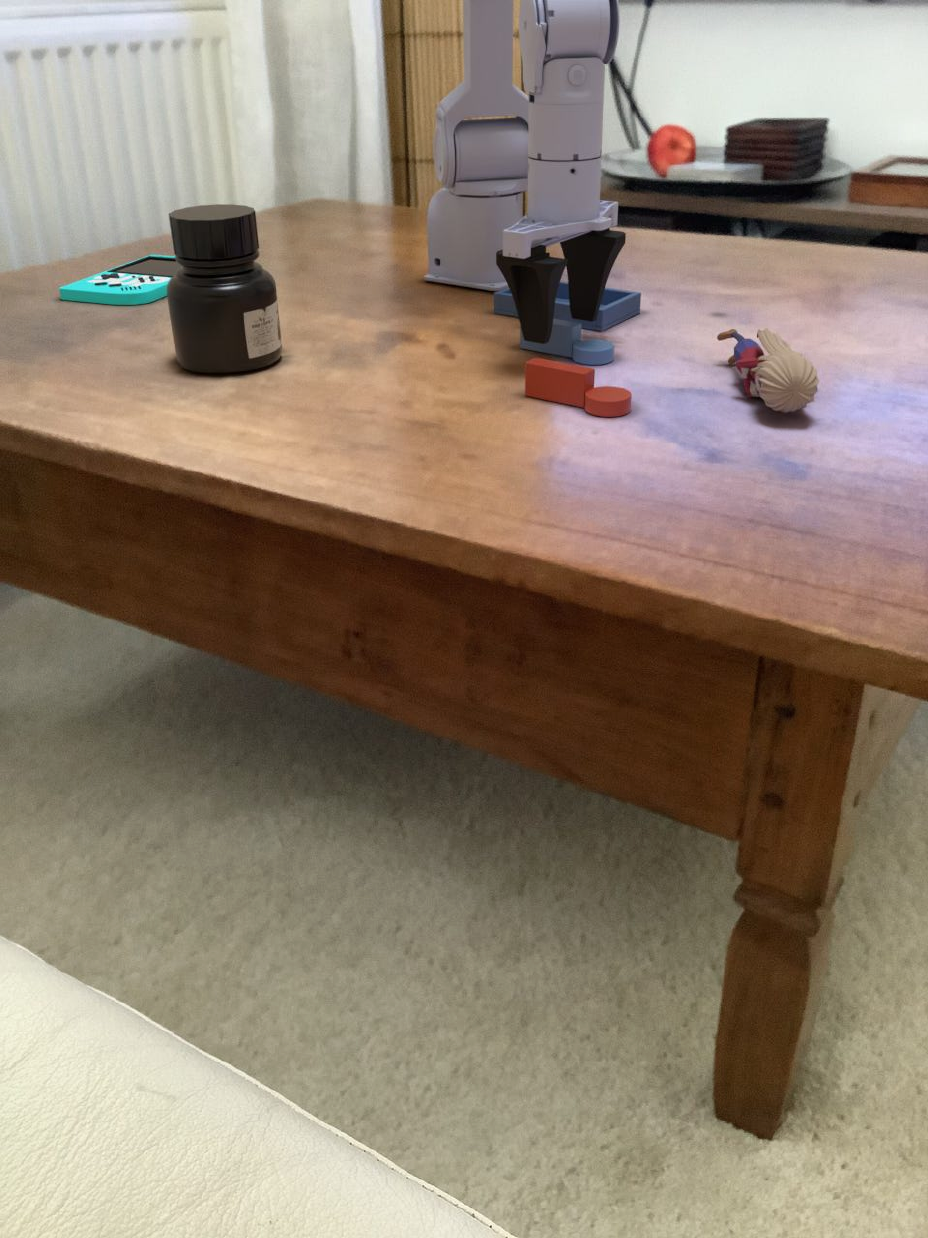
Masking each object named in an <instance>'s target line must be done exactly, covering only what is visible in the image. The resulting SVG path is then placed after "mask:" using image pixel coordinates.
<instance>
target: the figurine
mask: <svg viewBox="0 0 928 1238" xmlns="http://www.w3.org/2000/svg"><path fill="white" fill-rule="evenodd" d="M756 338H757V339H758V340H759V342H760V344H761V345H762V347H763V348H764V350H765V351H766V352H767V354H765V353H764V350H763V349H762V348H761V346H760V345H759V343H757V342H756V341H755V340H753V339H751V338H745V337H744V336H743V335H742V334H740V333H739V332H738V330H737V329H734V328H732V329H729V330H726V331H722V332H720V333H718V335H717V336H716V339H717V341H718V342H721V341H725V340H728V339H735V340H736V341H737V343H736V344H735V345H734V347H733V355H731V356H730V357H729V358H728V359H727V363H728V364H730V365H734V364H735V367H736V369H737V371H738V372H739V373H740V374H741V376H742V381H743V385H744V389H745V393H746V395H747V397H748V398H761V399H762V400H763V403H764V404H765V406H766V407H769V408H771V409H772V410H773V411H775V412H781V413H784V414H787V413H789V412H791V413H794V412H796V411H797V410H801V409H802V408H803V409H804V408H806V407H807V404H810V403H813V402H814V401H815V395H816V394H817V393H818V392H819V390H818V385H819V383H820V379H819V378H818V370H817V369H816V368H815V366H813V363H812V361H811V360H810V359H809V358H807V357H804V356H803V355H802V354H801V353H799V352H796V351H794V350H792V348H791V344H790V343H788V342H787V341H785V340H784V339H783V338H782V336H780V334H779V333H778V332H772V331H771V330H769V329H768V328H764V329H763V330H762V329H761V328H758V330H757V333H756Z"/></svg>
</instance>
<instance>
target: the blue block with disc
mask: <svg viewBox="0 0 928 1238" xmlns="http://www.w3.org/2000/svg"><path fill="white" fill-rule="evenodd" d="M519 348H520V349H523V350H526V351H527V350H528V351H534V352H539V353H544V354H548V355H555V356H559V357H560V356H561V357H565V358H571V359H572V360H573V361H574V362H575V363H578V364H582V365H587V366H599V365H606V364H609V363H611V362H613V361H614V359H615V344H614V342H611V341H608V340H605V339H600V338H589V339H588V338H587V339H582V328H581V323H577V322H571V321H565V320H559V319H553V326H552V332H551V336H550V340H549V342H548V343H546V344H541V343H535V342H530V341H525V340H524V338H523V334H522V330H521V326H520V325H519Z"/></svg>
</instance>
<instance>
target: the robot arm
mask: <svg viewBox="0 0 928 1238" xmlns="http://www.w3.org/2000/svg"><path fill="white" fill-rule="evenodd" d="M518 10H519V12H518V40H519V49H520V54H521V62H522V83H523V90H524V91H526V92H528V94H526V93H525V92H524V91H523V90H521V89H520V88H519V87H518V86H516V85H515V84H514V83H513V80H514V79H513V78H514V77H513V76H514V75H513V73H514V72H513V71H514V0H462V26H463V27H462V33H463V40H462V41H463V43H462V45H463V80H462V81H461V82H460V83H459V84H458V85H457V86H456V87H455V88H453V89H452V90H451V91H450V92H448V94H447V95H445V96H444V97H443V98H442V99H441V100H440V101H439V103H438V104H437V105H436V106H437V108H436V110H435V125H434V126H435V127H434V132H433V143H432V144H433V145H432V146H433V163H434V171H435V176H436V179H437V181H438V183H439V184H441V186H442V188H440V189H438V190H437V191H436V192H435V193H434V194H433V195H432V197H431V199H430V202H429V204H428V208H427V213H426V215H427V216H426V233H427V235H426V237H427V259H428V260H427V263H428V264H427V265H428V273H427V274H424V276H423V278H424V281H427V282H432V283H433V282H434V283H439V284H446V285H453V286H458V287H459V286H460V287H466V288H472V289H477V290H484V291H490V292H498V291H500V290H503V289H506V288H508V287H509V289H510V291H511V294H512V296H513V299H514V302H515V306H516V309H517V313H518V317H517V318H518V322H519V327H520V326H521V330H522V334H523V338H524V340H525V341H530V342H535V343H541V344H546V343H548V342H549V340H550V336H551V332H552V326H553V316H554V306H555V300H556V295H557V290H558V287H559V283H560V281H562V277H563V273H564V272H565V270H566V274H567V275H566V276H567V282H568V287H569V305H570V312H571V316H572V319H578V320H584V321H590V322H593V321H595V320H596V318H597V315H598V312H599V308H600V304H601V301H602V297H603V293H604V290H605V287H606V286H607V282H608V280H609V277H610V274H611V271H612V270H613V267H614V264H615V262H616V260H617V258H618V256H619V254H620V252H621V251H622V249H623V247H624V246H625V245H626V239H627V233H626V232H624V231H621V230H613V229H610V228H614V227H617V226H618V216H619V202H618V201H612V200H602V199H601V185H602V183H601V181H602V159H603V158H602V157H603V156H602V151H603V128H604V106H605V105H604V103H605V102H604V101H605V81H606V65H608V64H610V63H611V62H612V60H613V58H614V56H615V53H616V50H617V46H618V43H619V35H620V21H621V19H620V3H619V0H520V3H519V9H518ZM493 117H494V118H493ZM495 117H496V118H495ZM471 118H473V119H471ZM474 118H475V119H474ZM477 118H479V119H477ZM524 192H527V213H526V214H525V215H524V214H523V213H524V212H523V211H524V210H523V209H524V207H523V206H524V195H523V194H524ZM557 244H560V248H561V250H562V254H563V258H562V257H555V256H551V253H550V252H549V251H548V252H547V248H548V247H552V246H555V245H557Z"/></svg>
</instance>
